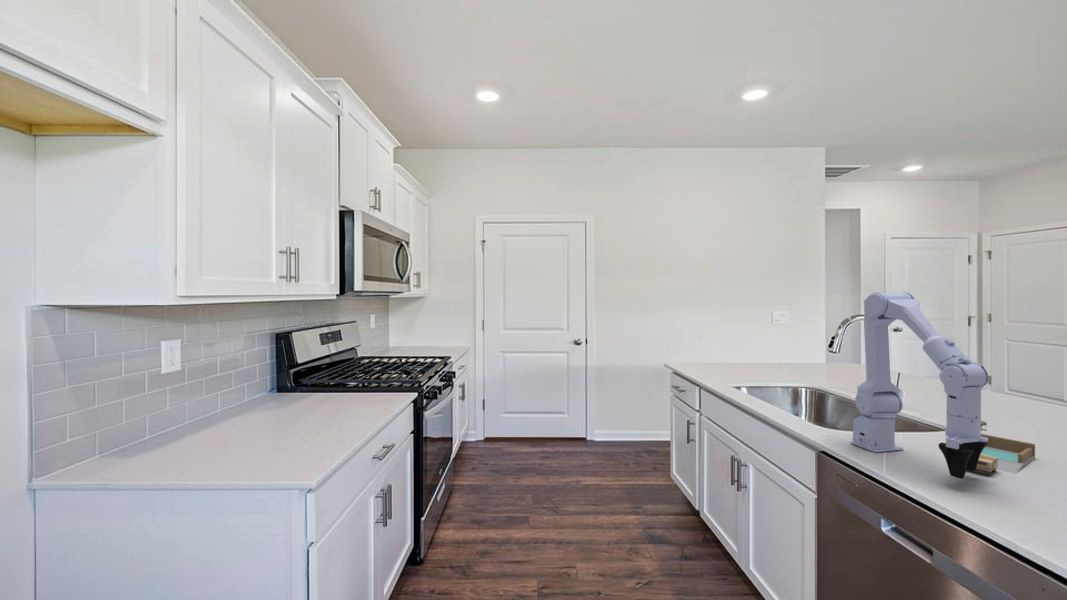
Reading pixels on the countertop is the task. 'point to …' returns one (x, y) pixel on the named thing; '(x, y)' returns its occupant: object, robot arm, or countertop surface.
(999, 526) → the countertop surface
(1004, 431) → the countertop surface
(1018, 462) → the dock
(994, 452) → the bay pad
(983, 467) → the tan cardboard box
